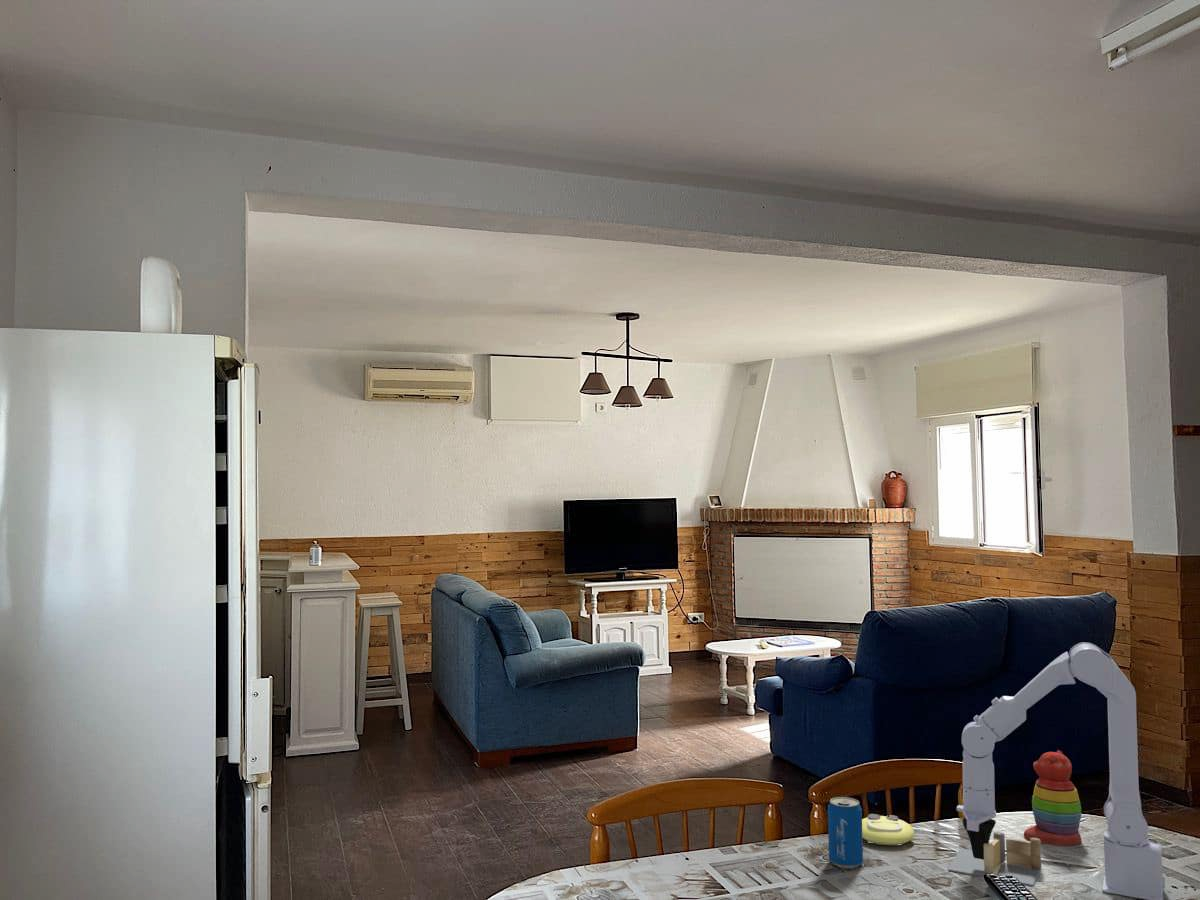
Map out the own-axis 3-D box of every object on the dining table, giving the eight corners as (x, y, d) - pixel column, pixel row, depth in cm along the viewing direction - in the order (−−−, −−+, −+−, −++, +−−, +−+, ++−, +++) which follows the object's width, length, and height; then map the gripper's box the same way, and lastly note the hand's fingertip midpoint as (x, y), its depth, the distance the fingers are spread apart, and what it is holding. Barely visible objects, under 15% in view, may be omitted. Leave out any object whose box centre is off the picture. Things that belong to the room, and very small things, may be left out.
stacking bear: (1041, 826, 208) (1038, 743, 209) (1090, 837, 200) (1087, 751, 201) (1020, 838, 200) (1017, 752, 201) (1070, 850, 193) (1067, 761, 194)
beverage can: (825, 866, 185) (823, 803, 186) (833, 855, 191) (832, 794, 192) (858, 872, 182) (857, 808, 183) (866, 861, 188) (864, 799, 189)
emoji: (917, 834, 194) (910, 811, 205) (856, 831, 196) (853, 808, 208) (918, 853, 194) (911, 829, 205) (857, 850, 196) (853, 826, 208)
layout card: (1041, 863, 186) (1041, 861, 186) (1033, 886, 175) (1033, 884, 175) (960, 849, 194) (960, 848, 194) (948, 870, 183) (948, 869, 183)
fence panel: (995, 857, 188) (995, 831, 188) (1006, 859, 187) (1005, 833, 187) (982, 871, 180) (981, 844, 181) (993, 874, 179) (992, 847, 179)
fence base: (1041, 867, 183) (1040, 838, 184) (1040, 870, 182) (1039, 841, 182) (1007, 861, 186) (1006, 833, 187) (1006, 864, 185) (1005, 836, 185)
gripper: (963, 774, 192) (964, 842, 192) (949, 793, 180) (950, 866, 179) (1001, 779, 189) (1002, 849, 188) (989, 799, 176) (990, 874, 176)
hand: (979, 858), depth 183 cm, fingers closed, pressing on fence panel
